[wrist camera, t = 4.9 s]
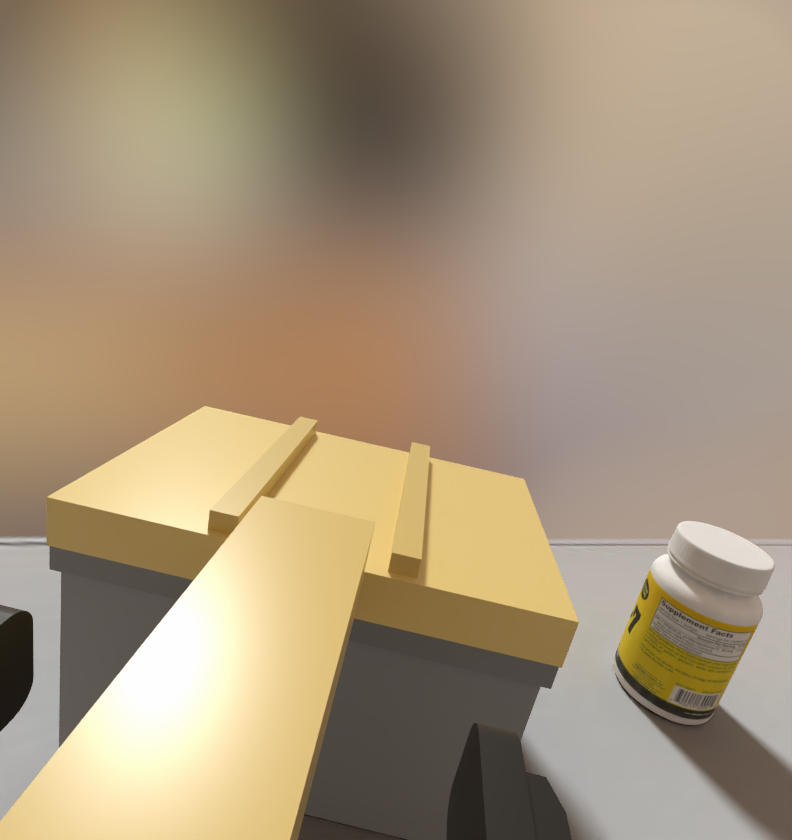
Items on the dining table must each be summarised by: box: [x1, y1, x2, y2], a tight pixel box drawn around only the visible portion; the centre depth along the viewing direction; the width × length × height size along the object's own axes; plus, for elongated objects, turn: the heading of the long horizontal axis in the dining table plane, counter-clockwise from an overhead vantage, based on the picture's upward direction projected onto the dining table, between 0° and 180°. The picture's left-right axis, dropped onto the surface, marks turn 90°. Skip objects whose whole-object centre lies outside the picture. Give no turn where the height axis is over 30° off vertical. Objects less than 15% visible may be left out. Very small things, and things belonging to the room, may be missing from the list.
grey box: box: [50, 546, 559, 840], centre depth 20 cm, size 14×9×8 cm, turn 84°
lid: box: [0, 406, 579, 840], centre depth 14 cm, size 14×18×3 cm
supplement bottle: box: [614, 521, 775, 725], centre depth 24 cm, size 5×5×8 cm
